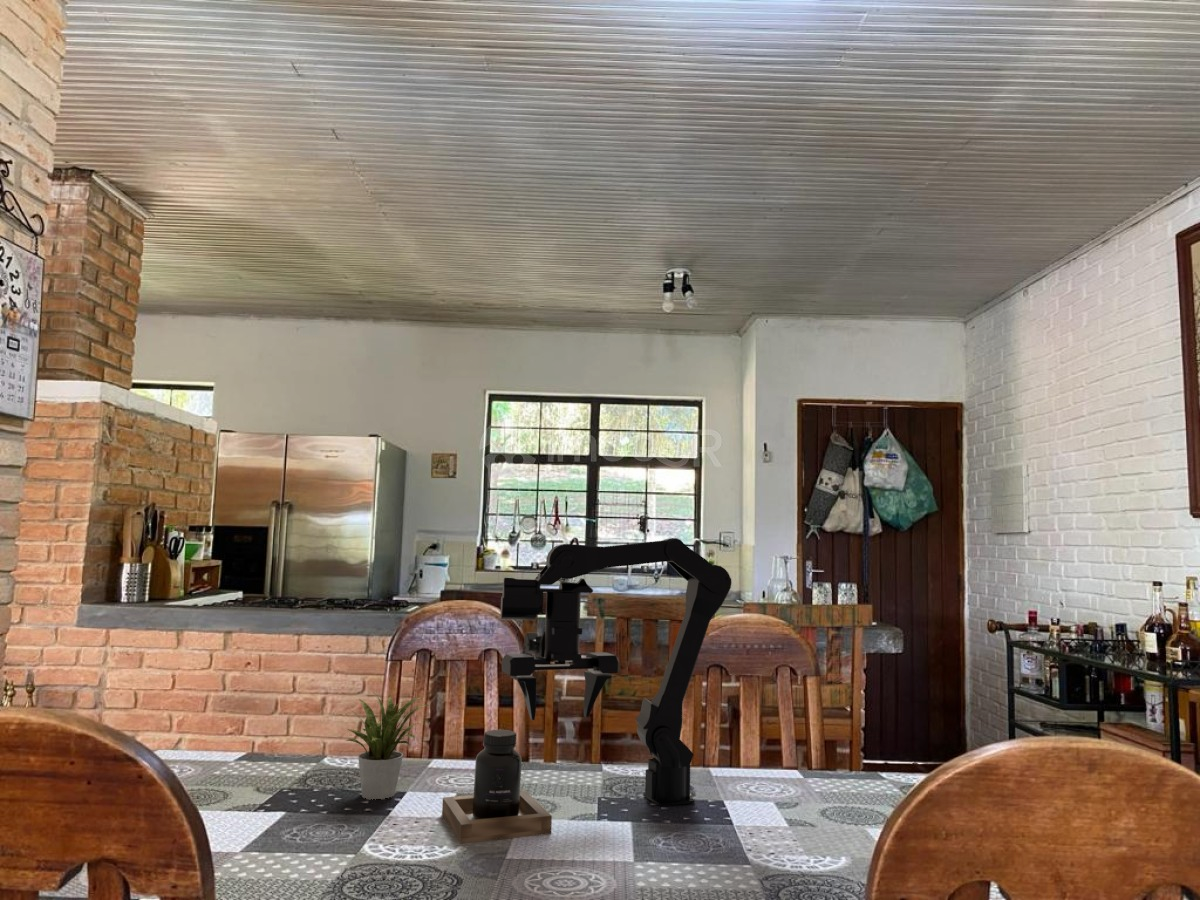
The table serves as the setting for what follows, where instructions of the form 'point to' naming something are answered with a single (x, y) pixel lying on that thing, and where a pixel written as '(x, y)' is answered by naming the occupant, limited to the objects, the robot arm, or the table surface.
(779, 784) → the table surface
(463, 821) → the holder
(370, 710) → the house plant
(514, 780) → the supplement bottle
